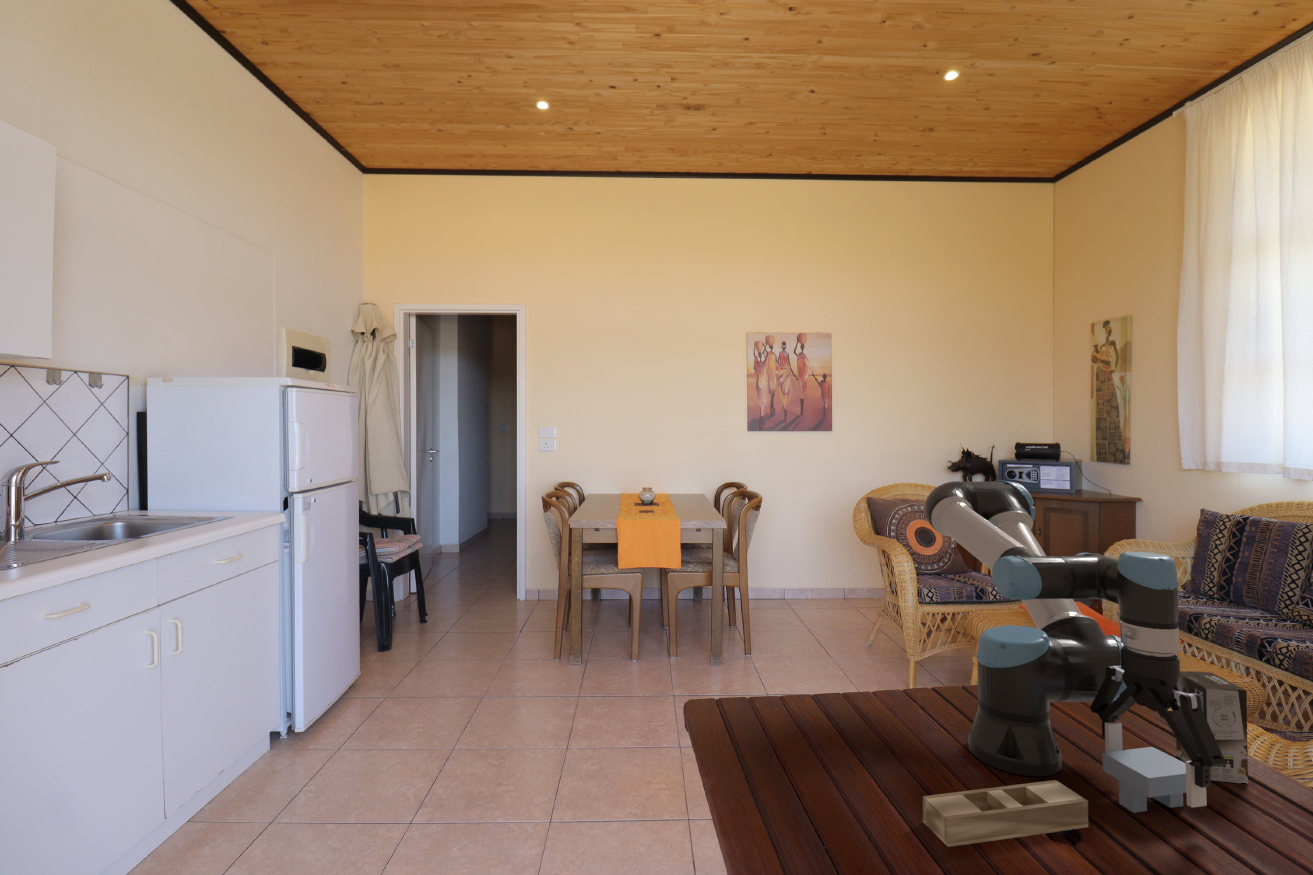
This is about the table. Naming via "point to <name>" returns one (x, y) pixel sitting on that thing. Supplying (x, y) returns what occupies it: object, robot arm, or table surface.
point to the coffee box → (1221, 722)
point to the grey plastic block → (1146, 777)
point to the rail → (1004, 812)
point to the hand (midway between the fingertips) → (1152, 781)
